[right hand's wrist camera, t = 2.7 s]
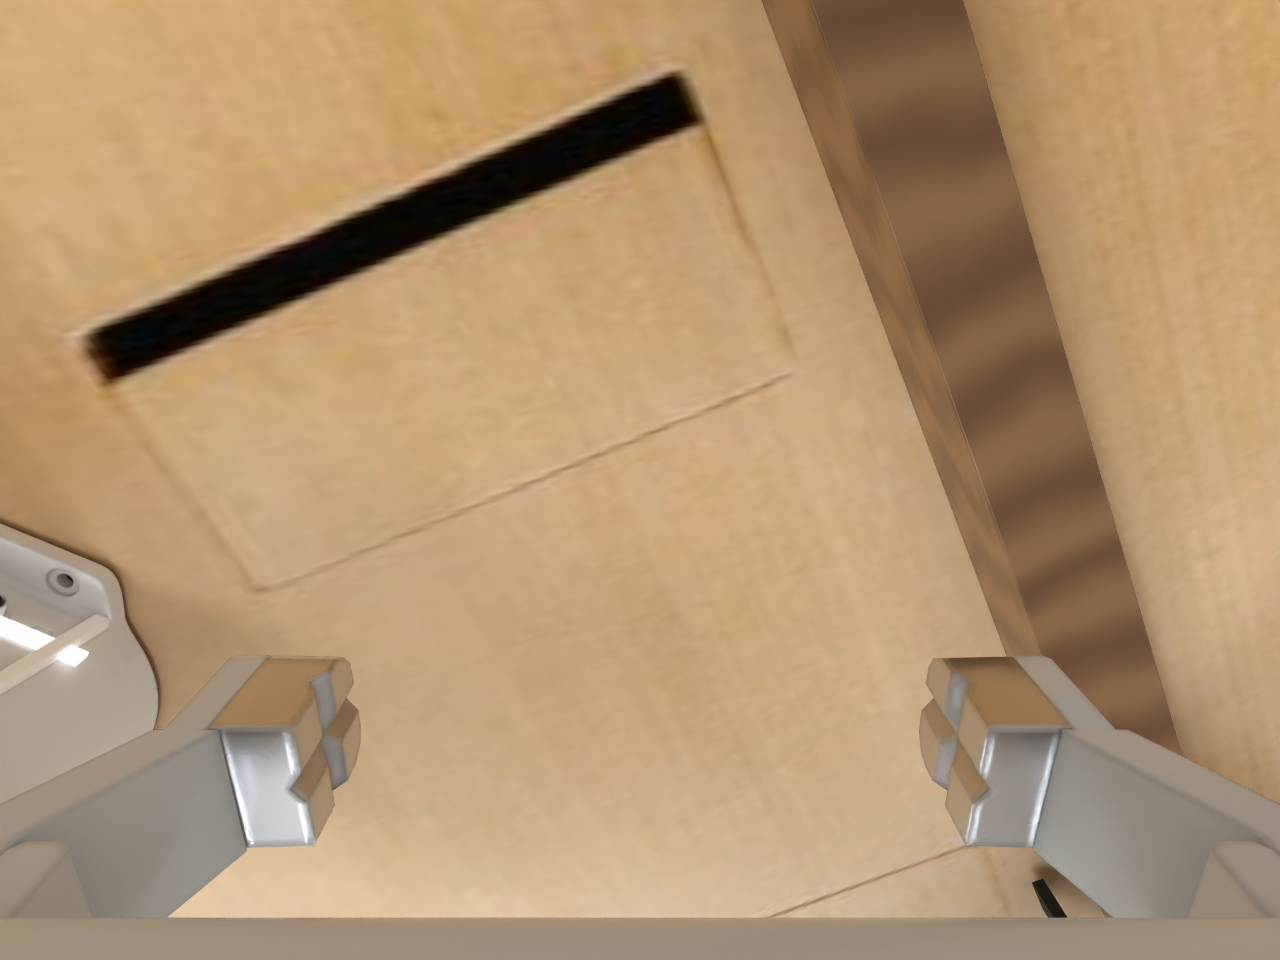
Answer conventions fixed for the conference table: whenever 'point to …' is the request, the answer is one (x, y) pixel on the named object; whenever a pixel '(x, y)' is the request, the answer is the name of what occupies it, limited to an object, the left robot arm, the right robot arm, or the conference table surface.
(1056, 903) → the left robot arm
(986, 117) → the beam
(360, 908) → the conference table surface
